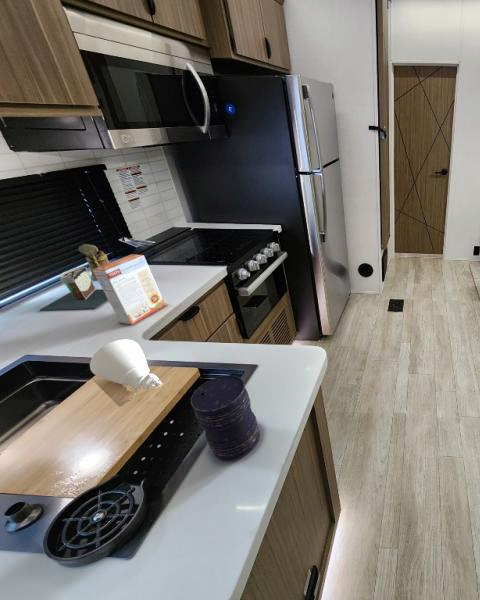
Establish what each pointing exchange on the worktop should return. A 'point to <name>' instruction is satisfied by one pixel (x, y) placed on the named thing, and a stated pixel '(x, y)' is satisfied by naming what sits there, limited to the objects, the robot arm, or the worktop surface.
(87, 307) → the side mat
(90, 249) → the tan yellow lumpy piece
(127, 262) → the cracker box
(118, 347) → the rocket engine
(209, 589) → the worktop surface
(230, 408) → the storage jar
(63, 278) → the food container
